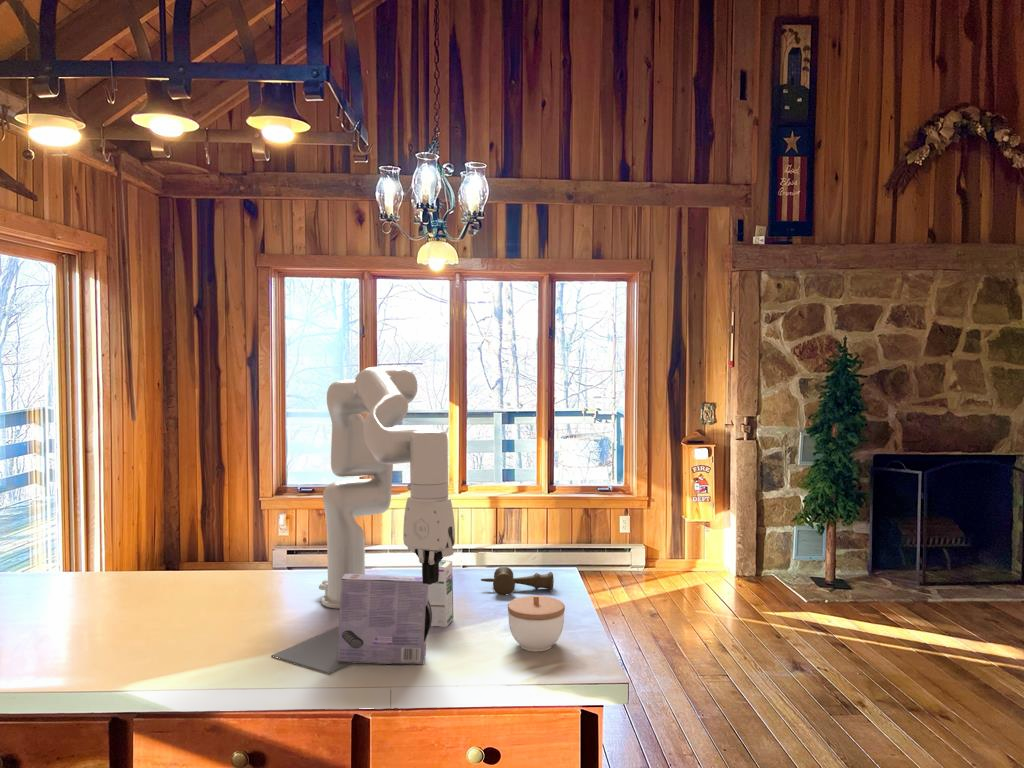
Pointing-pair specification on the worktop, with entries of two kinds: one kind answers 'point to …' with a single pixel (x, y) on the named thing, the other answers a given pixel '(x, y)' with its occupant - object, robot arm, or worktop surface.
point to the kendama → (518, 581)
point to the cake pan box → (383, 619)
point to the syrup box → (442, 596)
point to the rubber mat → (316, 653)
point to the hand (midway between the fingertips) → (430, 582)
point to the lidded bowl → (536, 621)
